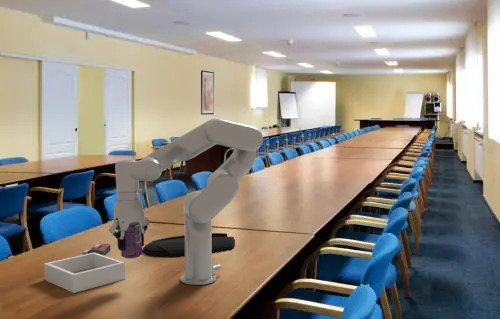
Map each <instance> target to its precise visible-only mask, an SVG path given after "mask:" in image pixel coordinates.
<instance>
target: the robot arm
mask: <svg viewBox="0 0 500 319" xmlns="http://www.w3.org/2000/svg"><path fill="white" fill-rule="evenodd" d="M263 142H264V135H263V134H262V132H261V130H260V129H259V128H257V127H254V126H251V125H247V124H242V123H236V122H233V121H230V120H229V121H228V120H225V119H221V118H211V119H209V120H206V121H205V122H204V123H202V124H200V125H198V126H196V127H195V128H193V129H191V130H190V131H188V132H186V133H185V134H183V135H181V136H180V137H178V138H176V139H174V140H172V141H171V142H169V143H167V144H164V146H161V147H160V148H158V149H156V150H155V151H153V152H151V153H149V154H148V155H146V156H144V157H142V158H141V159H140V160H135V159H122V160H121V159H120V160H118V161H116V162H115V165H114V168H115V184H116V186H115V187H116V201H114V206H113V216H112V217H113V223H112V224H111V226H110V227H109V228H108V232H110V233H111V234H112V236H114V237H115V239H117V240H116V241H117V248H118V251H120V252H121V251H125V239H123V237H124V234H125V231H126V230H127V228H128V227H129V224H133V223H137V222H139V225H140V226H141V237H142V247H145V234H146V231H147V229H148V227H149V225H150V223H151V220H150V219H148V218H147V217H145V209H144V205H143V200H142V199H141V196H142V195H143V192H142V191H143V190H140V181H142V182H143V181H144V182H154V181H157V180H158V179H159V178H160V177H161V175H162V172H163V171H165V170H166V169H168V168H170V167H172V166H174V165H176V164H179V163H181V162H186V161H190V160H191V159H194V158H196V157H197V156H199V155H200V154H202V153H203V152H206V151H207V150H209V149H211V148H212V147H214V146H215V145H220V146H223V147H227V148H232V149H233V152H232V153H231V155H230V156H229V157H228V158H227V159H226V160H225V161H224V162H223V163H222V164H221V165H220V166H219V167H218V168H217V169H216V170H215V171H213V172H212V173H211V174H210V175H209V176H208V178H207V181H206V186H205V187H204V189H202V190H194V191H191V192H189V193H188V194H187V195H186V196H185V199H184V200H183V208H182V209H183V223H184V225H183V226H184V235H185V256H184V273H183V274H182V275H181V276H180V282H182V283H183V284H186V285H191V286H202V285H203V286H205V285H209V284H211V283H214V282H215V281H216V280H217V275H216V274H215V272H216V271H220V270H222V265H221V264H216V265H214V264H212V263H213V260H212V259H213V258H212V257H213V256H212V255H213V253H212V233H213V231H212V229H213V228H212V225H213V224H212V220H213V219H214V218H215V217H216V216H218V215H219V214H220V213H221V212H222V211H223V210H224V209H225V208H226V207H227V206H228V205H229V204H230V203H231V202H232V201H233V200H234V198H235V197H236V196H237V195H238V191H239V187H240V186H239V185H240V184H239V182H240V181H241V180H242V179H243V178H244V177H245V176H246V175H247V174H248V173H249V172H250V171H251V169H252V167H253V166H254V164H255V162H256V158H257V151H258V150H259V149H260V148H261V146H262V145H263Z"/></svg>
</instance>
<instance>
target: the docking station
mask: <svg viewBox="0 0 500 319" xmlns="http://www.w3.org/2000/svg"><path fill="white" fill-rule="evenodd" d="M235 246H236V239H235V237H234V236H228V233H226V232H225V233H221V232H212V254H216V253H215V252H217V253H222V252H221V251H223V252H227V251H226V250H228V251H232V250H233V249H234V248H235ZM143 254H144V255H146V256H148V257H157V258H182V257H181V256H183V257H185V234H183V235H182V234H181V235H176V236H169V237H163V238H160V239H156V240H152V241H151V242H149V243H147V244H146V245H144V246H143V247H142V255H143Z"/></svg>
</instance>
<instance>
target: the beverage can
mask: <svg viewBox="0 0 500 319" xmlns="http://www.w3.org/2000/svg"><path fill="white" fill-rule="evenodd" d="M123 239H125V251H121V250H120V256H121V257H122V258H124V259H128V260H129V259H136V258H139V257H140V256H142V255H143V252H142V250H143V246H142V237H141V226H140V225H139V222H137V223H133V224H129V227H128V228H127V230H126V231H125V234H124V237H123Z"/></svg>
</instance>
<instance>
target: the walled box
mask: <svg viewBox="0 0 500 319" xmlns="http://www.w3.org/2000/svg"><path fill="white" fill-rule="evenodd" d="M43 265H44V280H45V281H46V282H48V283H51V284H53V285H54V286H55V285H56V286H58V287H60V288H62V289H65V291H68V292H71V293H73V294H75V293H78V292H81V291H82V292H83V291H86V290H89V289H93V288H97V287H100V286H104V285H108V284H113V283H115V282H119V281H120V282H121V281H123V280H126V262H124V261H121V260H118V259H116V258H112V257H110V256H107V255H105V256H104V255H101V254H98V253H95V252H94V253H90V254H85V255H82V254H81V255H76V256H74V257H73V256H71V257H67V258H63V259H59V260H53V261H50V262H49V261H48V262H45V263H43Z"/></svg>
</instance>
